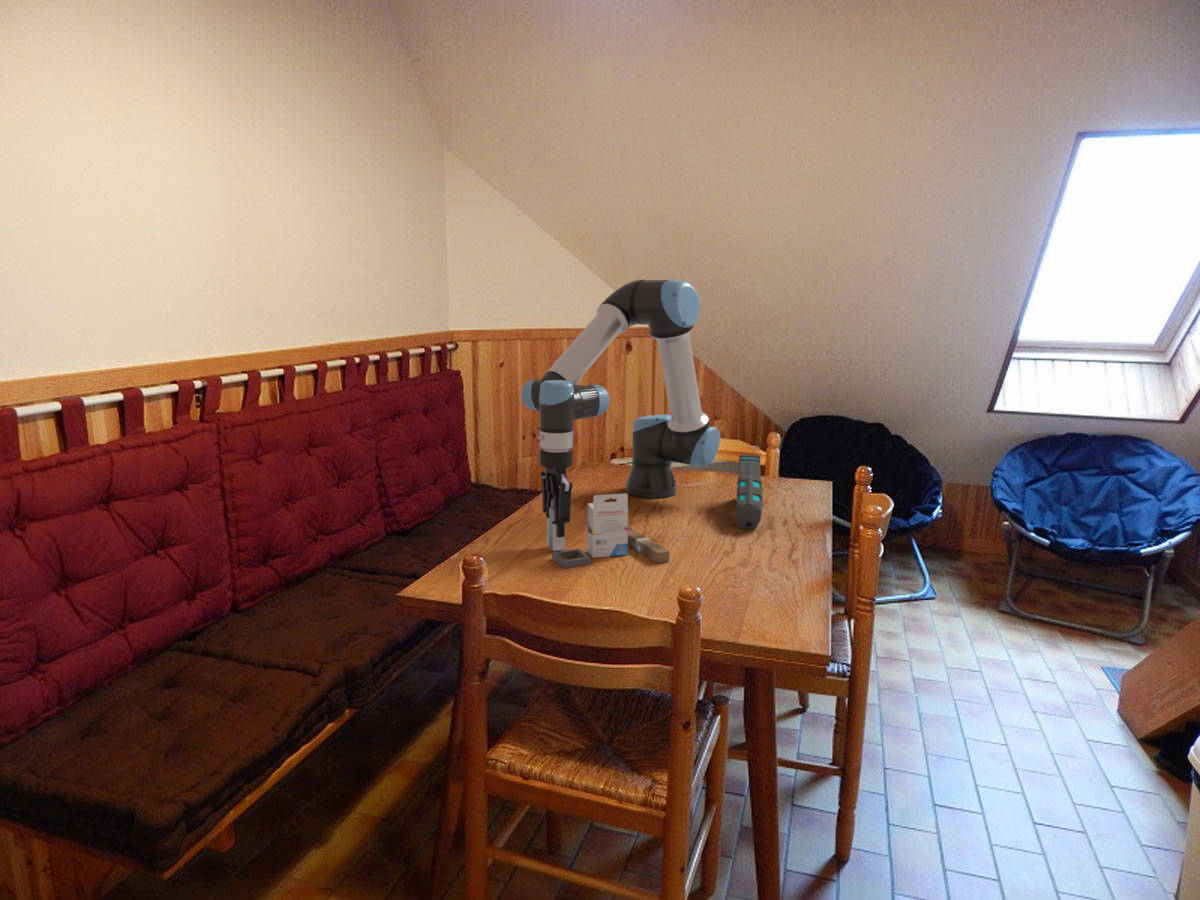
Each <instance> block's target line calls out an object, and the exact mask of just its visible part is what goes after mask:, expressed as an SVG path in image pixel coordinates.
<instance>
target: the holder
mask: <svg viewBox="0 0 1200 900" xmlns="http://www.w3.org/2000/svg"><path fill="white" fill-rule="evenodd" d="M551 552H552V553H551V559H552V560H553V562H555V563H557V565H559V566H560V567H561V568H562V569H569V568H574V567H576V568H577V567H582V566H589V565H592V556H591V555H590V556H589V555H588V554H587V553H586V552H584V551H583V550H582V549H580V548H574V549H567V550H561V551H551ZM569 558H571V559H569Z"/></svg>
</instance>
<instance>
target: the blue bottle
mask: <svg viewBox="0 0 1200 900" xmlns="http://www.w3.org/2000/svg"><path fill="white" fill-rule="evenodd" d="M552 521H555V515H554V498H553V499H551V507H549V546H548V549H549V551H550V552H559V551H564V549H562V550H555V551H554V550H553V524H552Z"/></svg>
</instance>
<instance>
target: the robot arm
mask: <svg viewBox="0 0 1200 900" xmlns="http://www.w3.org/2000/svg"><path fill="white" fill-rule="evenodd" d="M700 309H701V305H700V298H699V295H698V293H697V291H696V288H694V286H693V285H692V284H690V283H689V282H688V281H684V280H678V279H648V280H647V279H637V280H636V279H635V280H632V281H630V282H628V283H626V284H623V285H622V286H620V287H619V288H617V289H616V290H614V291H613V292H612V293H611V294H610V295H608V296H607V297H606V298H605V299H604V300H603V301H602V302H601V304H600V305H599V306H598V307H597V308H596V315H595V316H594V317H593V319H591V320H590V321H589V323H588V324H587V325H586V326H585V328H584V329H583V330H582V331H581V332H580V333H579V335H578V336H577V337H576V338H574V340H573V341H572V342H571V344H570V345H568V347H567V348H566V349H565V350H564V352H563V353H562V354H561V355H560V356H559V357H558V359H556V360H555V361H554V363H553V364H552V366H551V367H550V368H549V369H548V370H547V371H546V372H545V373H544V374H543V375H542V376H541V378H540V379H538V378H535V379H530V380H527V381H526V382H525V383H524V384H523V386H522V389H521V393H520V395H521V396H520V397H521V402H522V404H523V405H524V406H525V408H527V409H530V410H533V411H536V412H539V435H538V436H537V437H538V440H539V448H541V449H540V450H539V465H540V466H541V467H543V468H545V470H542V471H540V478H541V491H542V492H541V493H542V494H541V495H542V513H544V514H545V517H546V527H547V528H546V546H548V547H549V507H551V499H553V498H554V515H555V521H552V524H553V550H554V551H553V552H556V551H555V550H561V551H563V550H565V549H566V524H567V523H570V521H571V520H570V519H571V500H572V491H573V482H572V481H568V475H567V469H569V468H570V467H572V466H573V462H574V461H573V460H574V458H573V454H574V452H573V450H572V448H573V446H574V421H577V420H583V419H588V418H595V417H599V416H601V415H604V414H605V413H606V412H607V410H608V409H609V407H610V406H609V405H610V396H609V393H608V391H607V389H606V388H605V387H603V386H602V385H601V384H591V383H590V384H588V385H581V384H580V385H579V384H578V383H579V381H580V380H581V379H582V378H583V376H584V375H585V374H586V373H587V372H588V371H589V369H590V368H591V367H592V365H594V363H595V362H596V361H597V360H598V358H599V357H600V356H601V355H602V354H603V353H604V351H605V350H606V349H607V348H608V347H609V346H610V344H611V343H612V342H613V341H614V340H615V338H617V336H618V335H620V334H621V335H622V334H624V333H625V332H627V330H628V329H629V328H630V327H632V326H635V325H645V326H648V328H649V329H648V331H649V333H650V335H649V336H650V337H651V338H653V339H655V341H657V347H658V351H659V357H660V362H661V368H662V373H663V378H664V383H665V384H664V385H665V388H666V394H667V395H666V396H667V399H668V405H669V411H670V414H652V415H645V416H644V415H643V416H639V417H637V418H635V420H634V422H633V428H632V457H631V458H632V459H631V460H632V464H631V469H630V470H629V471H630V472H629V475H628V476H627V481H626V483H625V492H626V493H627V494H628V495H631V496H635V497H639V498H647V499H648V498H649V499H650V498H651V499H659V498H668V497H672V496H674V495H675V494H677V483H676V480H675V475H674V471H673V469H672V462H673V463H677V464H678V463H679V464H682V465H683V464H684V465H689V466H691V467H701V468H703V467H707V466H709V465H710V464H711V463H712V462H713V461H714V460H715V458H716V456H717V454H718V451H719V449H720V444H721V432H720V431H719V429H718V428H717V427H715V426H713V425H712V426H711V425H710V420H709V416H708V414H706V413H704V412H703V410H702V406H701V405H702V404H701V399H700V392H699V388H698V387H699V385H698V381H697V380H698V379H697V375H696V374H697V373H696V368H695V363H694V361H695V360H694V355H693V350H692V343H691V338H690V334H691V332H692V331H693V330H694V329H695V328H694V327H695V326H694V325H695V324H696V323H697V321H698V319H699V317H700V313H699V311H701V310H700ZM562 549H563V550H562Z"/></svg>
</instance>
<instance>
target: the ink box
mask: <svg viewBox="0 0 1200 900" xmlns="http://www.w3.org/2000/svg"><path fill="white" fill-rule="evenodd" d="M628 495H629V494H628V493H627V492H626V493H625V492H624V493H614V494H613V493H611V494H598V495H596V494H595V495H594V496H593V498H592V500H593V502H592V503H590V502H589V503H587V533H586V534H587V535H586V536H587V542H586V543H587V549H586V550H587V553H588V554H589V555H590V557H591V558H592V559H595V558H607V557H620V556H627V555H628V544H627V543H628V527H629V506H628V505H629V504H628V500H629V496H628ZM610 499H611V500H616V501H609V502H608V500H610ZM606 500H607V501H606ZM605 501H606V502H605Z"/></svg>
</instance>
